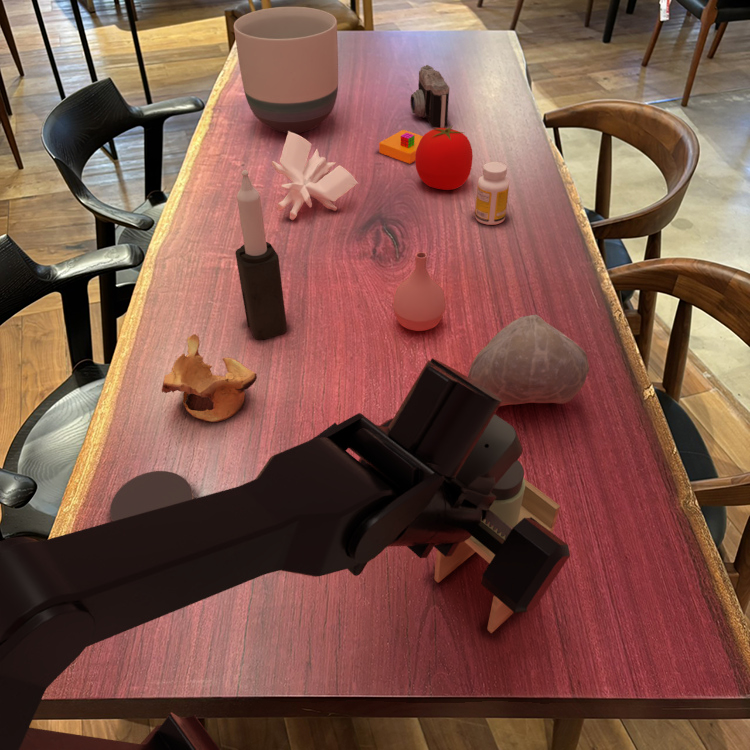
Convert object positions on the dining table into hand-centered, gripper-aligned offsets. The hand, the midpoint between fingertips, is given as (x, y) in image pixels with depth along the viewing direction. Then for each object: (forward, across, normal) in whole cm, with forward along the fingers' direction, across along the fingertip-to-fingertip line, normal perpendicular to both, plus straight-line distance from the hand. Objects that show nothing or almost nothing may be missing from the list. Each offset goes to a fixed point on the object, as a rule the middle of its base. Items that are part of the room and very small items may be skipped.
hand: (494, 510), depth 65 cm
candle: (+16, +50, +3) cm, 53 cm away
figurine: (+36, +74, -16) cm, 84 cm away
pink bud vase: (+28, +35, -9) cm, 46 cm away
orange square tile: (+55, +77, -36) cm, 101 cm away
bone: (+6, +42, +13) cm, 44 cm away
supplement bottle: (+50, +48, -30) cm, 75 cm away
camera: (+66, +86, -47) cm, 118 cm away
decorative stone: (+27, +14, -7) cm, 31 cm away
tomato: (+52, +62, -32) cm, 87 cm away
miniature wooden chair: (+10, 0, +9) cm, 13 cm away
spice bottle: (+1, 0, +2) cm, 2 cm away
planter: (+49, +102, -29) cm, 117 cm away
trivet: (-5, +32, +23) cm, 40 cm away
